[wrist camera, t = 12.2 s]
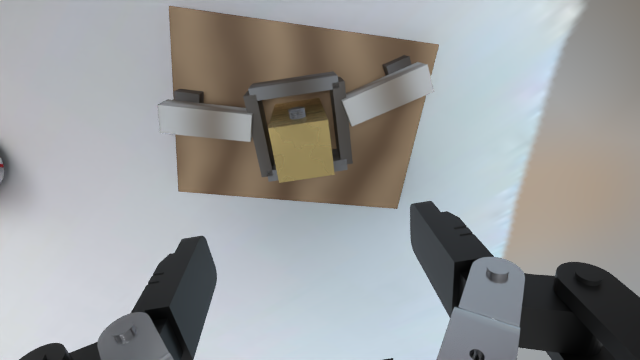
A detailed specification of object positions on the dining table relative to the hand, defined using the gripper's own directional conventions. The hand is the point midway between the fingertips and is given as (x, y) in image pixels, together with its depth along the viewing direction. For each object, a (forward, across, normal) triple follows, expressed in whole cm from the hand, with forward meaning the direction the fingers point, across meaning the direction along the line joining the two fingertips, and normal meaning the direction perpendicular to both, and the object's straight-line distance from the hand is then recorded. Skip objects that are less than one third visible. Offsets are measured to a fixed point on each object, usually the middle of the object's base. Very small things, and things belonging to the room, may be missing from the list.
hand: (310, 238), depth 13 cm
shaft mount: (+20, 0, 0) cm, 20 cm away
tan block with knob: (+18, 0, 0) cm, 19 cm away
